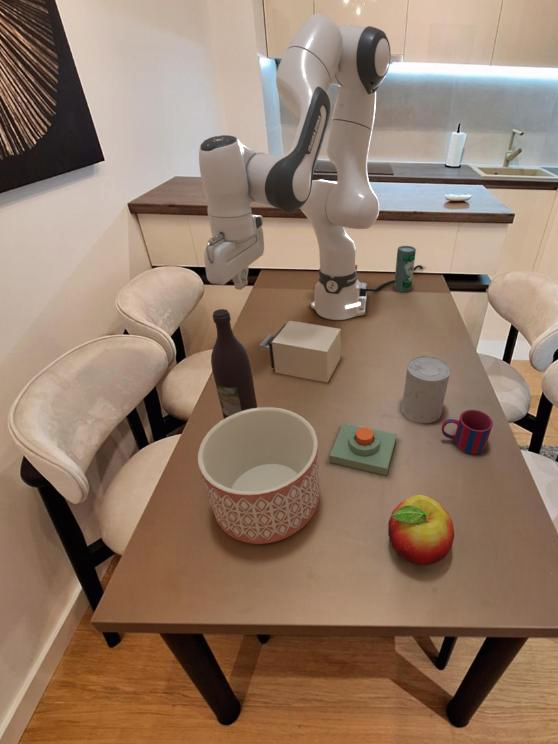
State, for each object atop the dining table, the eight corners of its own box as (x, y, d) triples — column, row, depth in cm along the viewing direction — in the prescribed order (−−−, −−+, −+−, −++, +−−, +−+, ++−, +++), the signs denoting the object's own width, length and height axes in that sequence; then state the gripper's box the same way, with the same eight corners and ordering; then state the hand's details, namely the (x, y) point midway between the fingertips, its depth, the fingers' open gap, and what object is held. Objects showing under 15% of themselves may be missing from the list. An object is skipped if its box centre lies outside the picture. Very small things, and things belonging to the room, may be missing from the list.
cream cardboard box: (275, 372, 106) (271, 342, 100) (291, 350, 115) (289, 320, 109) (327, 382, 103) (327, 351, 97) (340, 358, 112) (340, 328, 106)
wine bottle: (226, 429, 89) (197, 307, 70) (257, 421, 91) (237, 300, 73) (231, 451, 84) (202, 325, 65) (265, 442, 86) (245, 318, 67)
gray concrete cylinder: (417, 391, 101) (424, 351, 93) (449, 410, 96) (459, 368, 88) (393, 408, 95) (398, 367, 88) (425, 429, 90) (433, 386, 83)
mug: (486, 456, 84) (494, 433, 80) (438, 449, 86) (443, 426, 81) (484, 434, 89) (491, 412, 85) (439, 427, 91) (444, 405, 87)
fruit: (457, 573, 64) (469, 539, 58) (390, 578, 63) (396, 544, 57) (440, 515, 73) (449, 480, 66) (381, 518, 72) (385, 483, 66)
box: (343, 429, 90) (343, 416, 87) (395, 441, 87) (397, 427, 85) (329, 462, 82) (329, 449, 79) (386, 475, 80) (388, 462, 77)
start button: (358, 431, 84) (358, 425, 83) (374, 435, 83) (375, 429, 82) (353, 443, 81) (353, 437, 80) (370, 447, 81) (371, 441, 79)
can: (408, 293, 146) (413, 252, 137) (392, 290, 148) (396, 250, 138) (412, 287, 150) (417, 247, 141) (396, 284, 152) (400, 244, 143)
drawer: (256, 365, 107) (253, 340, 102) (273, 345, 115) (270, 321, 110) (319, 377, 103) (319, 352, 98) (332, 355, 111) (331, 331, 106)
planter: (330, 533, 69) (330, 478, 60) (216, 562, 65) (196, 507, 56) (308, 453, 84) (305, 399, 75) (213, 472, 79) (197, 417, 70)
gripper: (219, 243, 76) (231, 308, 85) (266, 215, 92) (272, 272, 100) (190, 239, 77) (205, 304, 86) (241, 212, 93) (249, 269, 102)
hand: (241, 287), depth 93 cm, fingers closed
